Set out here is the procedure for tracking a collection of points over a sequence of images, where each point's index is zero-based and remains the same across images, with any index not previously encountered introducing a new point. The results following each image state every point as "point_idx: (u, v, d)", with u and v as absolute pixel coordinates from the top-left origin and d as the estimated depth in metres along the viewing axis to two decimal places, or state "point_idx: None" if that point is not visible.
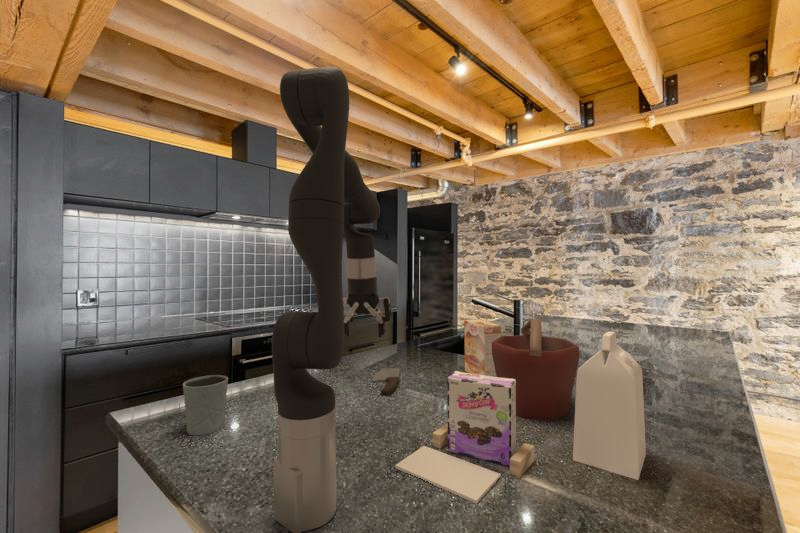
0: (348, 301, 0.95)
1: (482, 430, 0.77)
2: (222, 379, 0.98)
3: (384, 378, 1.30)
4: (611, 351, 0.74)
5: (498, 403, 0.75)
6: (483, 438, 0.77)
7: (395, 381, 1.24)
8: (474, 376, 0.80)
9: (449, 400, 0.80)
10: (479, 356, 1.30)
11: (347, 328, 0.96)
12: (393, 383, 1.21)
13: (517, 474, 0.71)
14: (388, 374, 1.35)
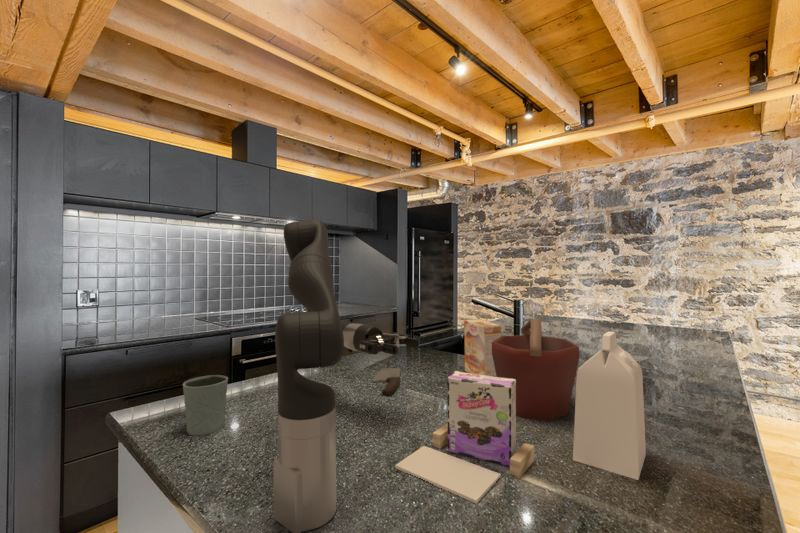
0: (370, 339, 0.95)
1: (482, 430, 0.77)
2: (222, 379, 0.98)
3: (385, 378, 1.30)
4: (611, 351, 0.74)
5: (498, 403, 0.75)
6: (483, 438, 0.77)
7: (396, 381, 1.24)
8: (474, 376, 0.80)
9: (449, 400, 0.80)
10: (479, 356, 1.30)
11: (389, 344, 0.90)
12: (394, 384, 1.21)
13: (517, 474, 0.71)
14: (388, 374, 1.35)
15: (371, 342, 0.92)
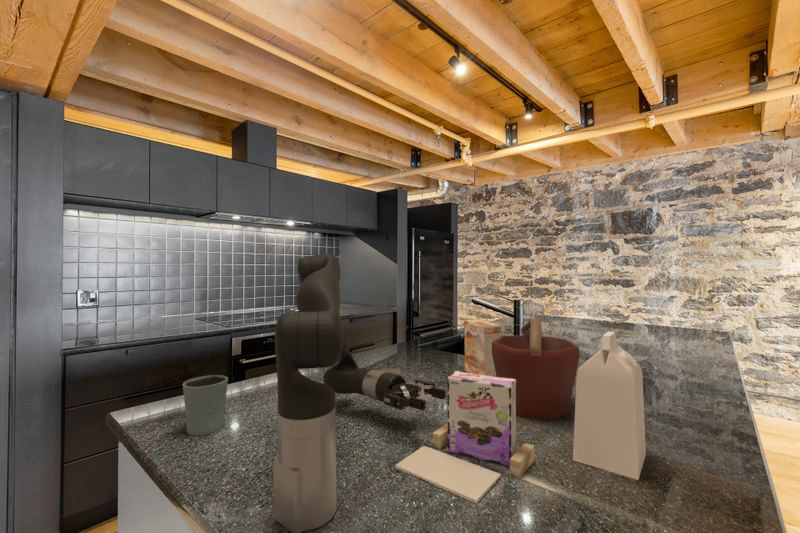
0: (394, 391, 0.90)
1: (482, 430, 0.77)
2: (222, 379, 0.98)
3: None
4: (611, 351, 0.74)
5: (498, 403, 0.75)
6: (483, 438, 0.77)
7: None
8: (474, 376, 0.80)
9: (449, 400, 0.80)
10: (479, 356, 1.30)
11: (416, 398, 0.85)
12: None
13: (517, 474, 0.71)
14: None
15: (396, 396, 0.87)
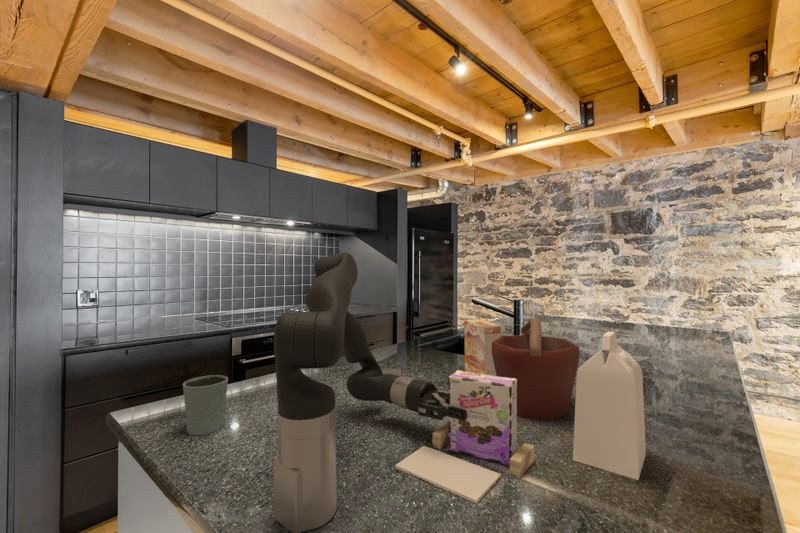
0: (427, 400, 0.84)
1: (482, 429, 0.77)
2: (222, 379, 0.98)
3: None
4: (611, 351, 0.74)
5: (498, 402, 0.75)
6: (483, 437, 0.77)
7: None
8: (475, 375, 0.81)
9: (450, 399, 0.80)
10: (479, 356, 1.30)
11: (456, 408, 0.79)
12: None
13: (517, 474, 0.71)
14: None
15: (433, 405, 0.81)
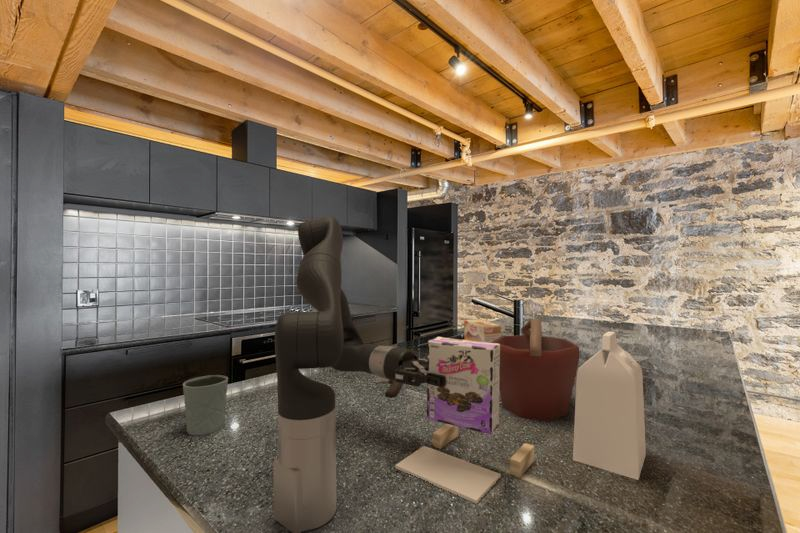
0: (405, 367, 0.79)
1: (462, 396, 0.72)
2: (222, 379, 0.98)
3: (387, 379, 1.28)
4: (611, 351, 0.74)
5: (479, 367, 0.70)
6: (463, 404, 0.72)
7: None
8: (456, 340, 0.76)
9: (429, 365, 0.76)
10: None
11: (435, 374, 0.74)
12: (397, 385, 1.20)
13: (517, 474, 0.71)
14: None
15: (411, 371, 0.76)
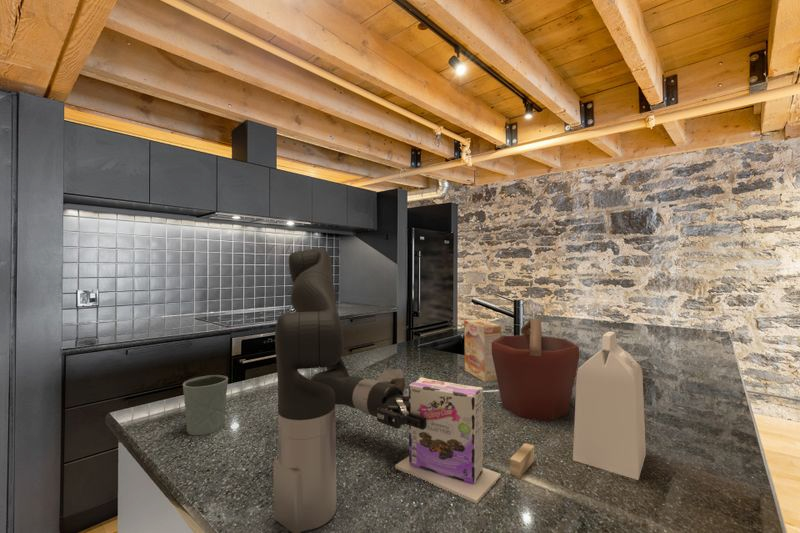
0: (389, 405, 0.77)
1: (444, 443, 0.70)
2: (222, 379, 0.98)
3: (389, 380, 1.28)
4: (611, 351, 0.74)
5: (460, 414, 0.68)
6: (445, 451, 0.70)
7: (402, 382, 1.22)
8: (438, 383, 0.74)
9: (410, 409, 0.73)
10: (479, 356, 1.30)
11: (415, 415, 0.72)
12: (400, 385, 1.19)
13: (517, 474, 0.71)
14: (392, 376, 1.33)
15: (392, 411, 0.73)
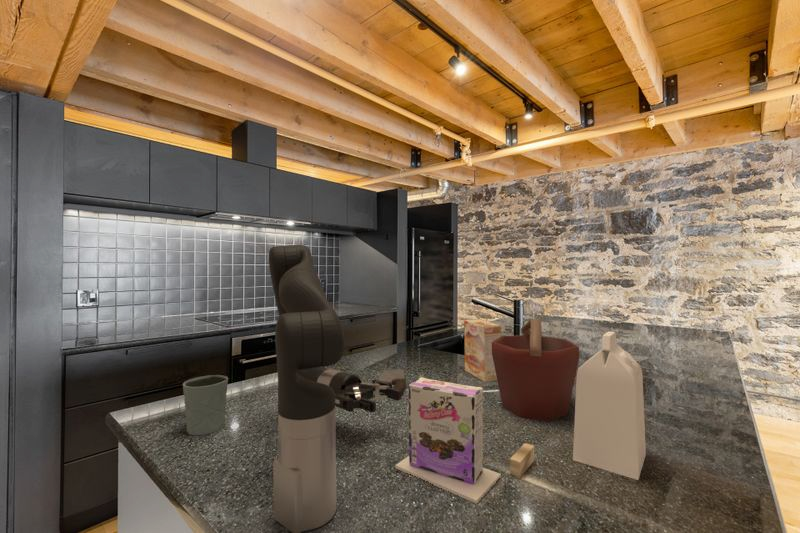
0: (346, 392, 0.85)
1: (444, 443, 0.70)
2: (222, 379, 0.98)
3: (390, 380, 1.27)
4: (611, 351, 0.74)
5: (460, 414, 0.68)
6: (445, 451, 0.70)
7: (402, 383, 1.22)
8: (438, 383, 0.74)
9: (410, 409, 0.73)
10: (479, 356, 1.30)
11: (366, 399, 0.80)
12: (401, 385, 1.19)
13: (517, 474, 0.71)
14: (393, 376, 1.32)
15: (346, 397, 0.81)
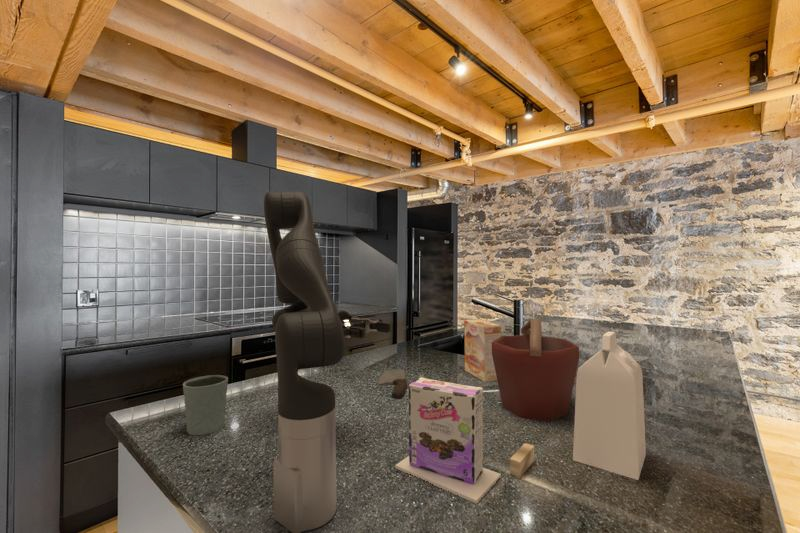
0: None
1: (444, 443, 0.70)
2: (222, 379, 0.98)
3: (391, 380, 1.27)
4: (611, 351, 0.74)
5: (460, 414, 0.68)
6: (445, 451, 0.70)
7: (404, 383, 1.21)
8: (438, 383, 0.74)
9: (410, 409, 0.73)
10: (479, 356, 1.30)
11: (356, 327, 0.82)
12: (403, 386, 1.19)
13: (517, 474, 0.71)
14: (394, 376, 1.32)
15: None
